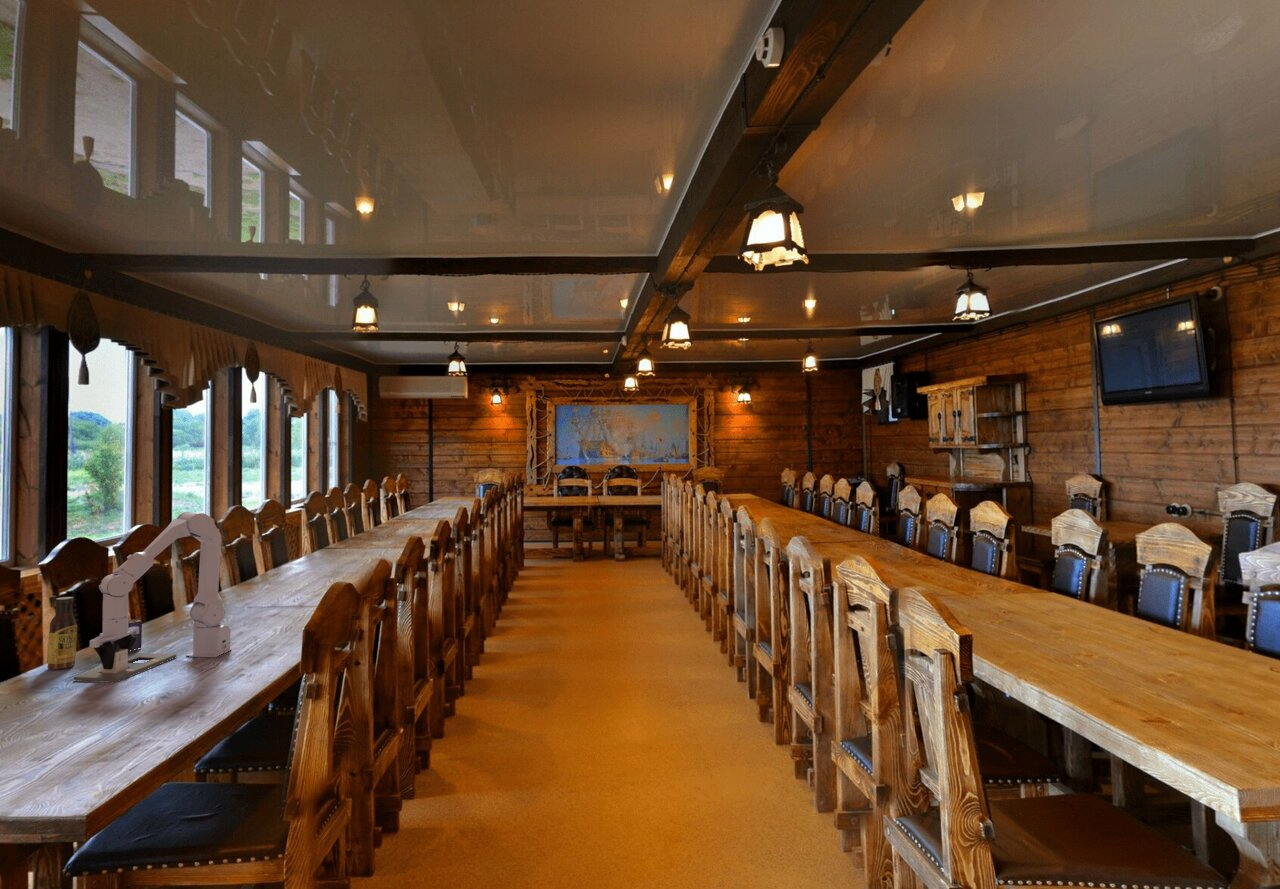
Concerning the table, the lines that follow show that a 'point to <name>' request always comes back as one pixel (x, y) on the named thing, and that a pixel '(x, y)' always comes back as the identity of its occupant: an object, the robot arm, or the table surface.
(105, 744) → the table surface
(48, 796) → the table surface
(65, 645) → the sauce bottle
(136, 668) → the panel
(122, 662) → the plug
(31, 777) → the table surface
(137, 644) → the flask
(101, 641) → the robot arm
